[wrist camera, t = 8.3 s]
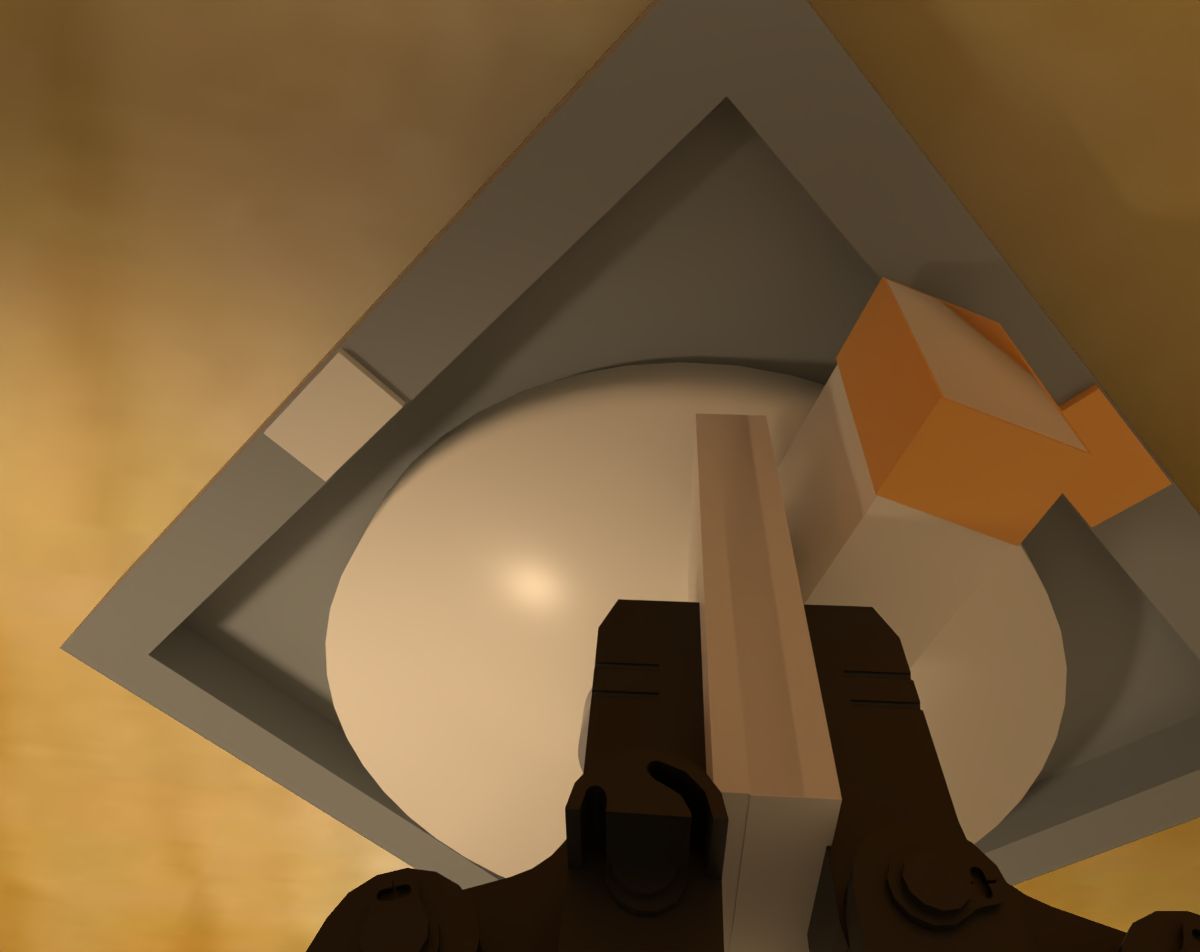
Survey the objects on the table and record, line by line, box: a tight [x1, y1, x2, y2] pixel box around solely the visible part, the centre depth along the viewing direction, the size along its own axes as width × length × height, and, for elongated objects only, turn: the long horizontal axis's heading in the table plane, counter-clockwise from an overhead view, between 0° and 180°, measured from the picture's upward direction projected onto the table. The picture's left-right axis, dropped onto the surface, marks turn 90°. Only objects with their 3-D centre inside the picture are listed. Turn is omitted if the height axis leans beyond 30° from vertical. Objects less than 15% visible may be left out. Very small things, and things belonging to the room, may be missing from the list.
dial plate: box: [60, 0, 1200, 952], centre depth 20 cm, size 20×20×3 cm
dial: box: [325, 277, 1093, 878], centre depth 17 cm, size 18×15×5 cm
